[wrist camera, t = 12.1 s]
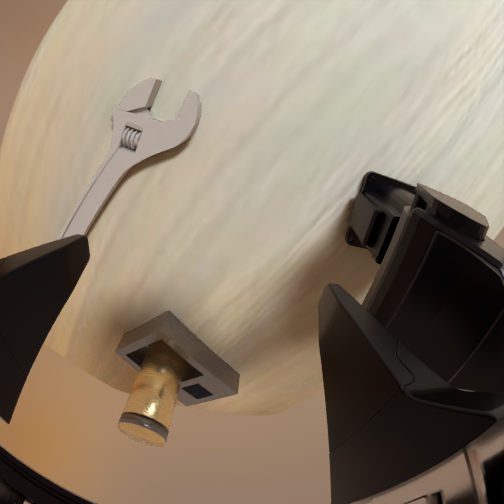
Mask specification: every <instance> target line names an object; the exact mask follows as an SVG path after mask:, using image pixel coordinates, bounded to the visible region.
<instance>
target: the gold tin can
mask: <svg viewBox="0 0 504 504" xmlns="http://www.w3.org/2000/svg"><path fill="white" fill-rule="evenodd" d="M186 363H187V361H186V360H185V359H184V358H182V357H181V356H180V355H179V354H178V353H177V352H175V351H174V350H173V349H172V348H171V347H170V346H168V345H167V344H166V343H165V342H164V341H163V340H162V339H160V340H158V341H156V342H153V343H151V344H150V346H149V348H148V351H147V353H146V355H145V358H144V360H143V363H142V365H141V368H140V370H139V372H138V375H137V377H136V380H135V382H134V385H133V387H132V390H131V393H130V395H129V398H128V400H127V403H126V406H125V409H124V411H123V413H122V415H121V418H120V420H119V423H118V429H119V430H120V431H121V432H122V433H123V434H124V435H126V436H128V437H129V438H131V439H134V440H136V441H138V442H141V443H144V444H147V445H151V446H164V445H165V443H166V440H167V436H168V430H169V426H170V422H171V418H172V415H173V411H174V407H175V403H176V400H177V396H178V392H179V389H180V385H181V381H182V378H183V374H184V370H185V367H186Z"/></svg>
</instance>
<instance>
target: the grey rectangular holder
mask: <svg viewBox="0 0 504 504" xmlns="http://www.w3.org/2000/svg"><path fill="white" fill-rule="evenodd" d="M160 339H162V340H163V341H164V342H165V343H166V344H167V345H168V346H170V347H171V348H172V349H173V350H174V351H175V352H177V353H178V354H179V355H180V356H181V357H182V358H184V359H185V360H186V361H187V362H188V363H187V364H186V367H185V370H184V374H183V378H182V381H181V385H180V389H179V392H178V396H177V400H179V401H180V402H182V403H183V404H185V405H186V406H189V405H194V404H199V403H203V402H207V401H212V400H216V399H220V398H224V397H227V396H231V395H235V394H238V386H239V377H240V375H239V374H238V373H237V372H236V371H235V370H233V369H232V368H231V367H230V366H229V365H228V364H226V363H225V362H224V361H223V360H222V359H221V358H220V357H218V356H217V355H216V354H215V353H214V352H213V351H212V350H210V349H209V348H208V347H207V346H206V345H205V344H204V343H203V342H202V341H201V340H199V339H198V338H197V337H196V336H195V335H194V334H193V333H192V332H191V331H190V330H189V329H188V328H187V327H186V326H185V325H183V324H182V323H181V322H180V321H179V320H178V319H177V318H176V317H175V316H174V315H173V314H172V313H171V312H170V311H167V312H165V313H163V314H161V315H159V316H157V317H156V318H154V319H152V320H150V321H148V322H146V323H144V324H143V325H141V326H139V327H137V328H135V329H133V330H131V331H130V332H128V333H126V334H124V335H123V337H122V339H121V341H120V343H119V345H118V347H117V349H116V351H115V352H116V353H117V354H118V355H120V356H121V357H122V358H123V359H124V360H125V361H127V362H128V363H129V364H130V365H131V366H133V367H134V368H135V369H136V370H138V371H139V370H140V368H141V365H142V363H143V360H144V358H145V355H146V353H147V351H148V350H147V349H146V348H145V346H147V345H149V344H151V343H153V342H156V341H158V340H160Z"/></svg>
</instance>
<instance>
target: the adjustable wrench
mask: <svg viewBox="0 0 504 504" xmlns="http://www.w3.org/2000/svg"><path fill="white" fill-rule="evenodd" d="M161 83H162V80H158V79H154V78H149V79H147V80H144V81H142V82H141V83H139V84H137V85H136V86H134V87H133V88H132V89H131V90H130V91H129V92H128V93H127V94H126V95H125V96H124V97H123V99H122V100H121V101H120V103H119V104H118V106H117V107H112V109H111V112H112V116H111V120H112V121H113V135H112V142H111V146H110V149H109V151H108V154H107V156H106V158H105V159H104V161H103V163H102V164H101V165H100V167H99V168H98V170H97V171H96V173H95V174H94V176H93V177H92V179H91V181H90V182H89V184H88V185H87V187H86V188H85V190H84V192H83V193H82V195H81V197H80V198H79V200H78V202H77V203H76V205H75V207H74V209H73V210H72V212H71V214H70V216H69V218H68V220H67V221H66V223H65V225H64V227H63V229H62V231H61V233H60V235H59V237H58V239H57V240H59V239H63V238H66V237H69V236H73V235H76V234H81V235H85V236H86V234H87V232H88V231H89V229H90V227H91V226H92V224H93V222H94V221H95V219H96V217H97V216H98V214H99V213H100V211H101V210H102V208H103V206H104V205H105V203H106V202H107V200H108V199H109V197H110V196H111V194H112V193H113V191H114V190H115V189H116V187H117V186H118V184H119V183H120V181H121V180H122V179H123V177H124V176H125V175H126V173H127V172H128V171H129V170H130V169H131V168H132V167H133V166H135V165H136V164H137V163H139V162H141V161H143V160H144V159H146V158H148V157H150V156H152V155H154V154H157V153H160V152H162V151H165V150H168V149H171V148H173V147H176V146H178V145H180V144H182V143H183V142H185V141H186V140H187V139H188V138H189V137H191V135H192V134H193V133H194V131H195V130H196V128H197V126H198V124H199V121H200V117H201V106H202V105H201V101H200V97H199V95H198V93H196V92H195V91H192V90H189V91H188V93H187V96H186V98H185V100H184V102H183V105H182V107H181V110H180V112H179V114H178V117H177V118H175V119H171V120H166V121H161V120H159V119H156V118H154V117H153V116H152V115H151V113H150V112H149V110H148V107H152V104H153V102H154V99H155V97H156V94H157V92H158V90H159V87H160V85H161ZM125 146H128V147H129V148H128V147H125ZM131 148H132V149H131ZM133 149H136V150H133Z"/></svg>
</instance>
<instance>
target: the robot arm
mask: <svg viewBox="0 0 504 504" xmlns="http://www.w3.org/2000/svg"><path fill="white" fill-rule="evenodd" d="M372 175H373V176H374V179H373V180H370V176H372ZM348 222H349V224H350V226H349V228H348V231H347V234H346V237H345V239H346V242H347V243H348V244H349V245H352V246H356V247H361V248H365V249H368V250H369V252H370V253H371V255H372V256H373V258H374V259H375V261H376V263H378V264H381V266H380V268H379V270H378V272H377V274H376V276H375V279H374V281H373V283H372V285H371V287H370V289H369V291H368V293H367V295H366V297H365V299H364V301H363V303H362V305H361V304H359V303H358V302H357V301H356V300H355V299H354V298H353V297H352V296H351V295H350V294H348V293H347V292H346V291H345V290H344V289H343V288H342V287H341V286H339V285H338V284H332V283H328V284H327V285H326V287H325V289H324V291H323V294H322V296H321V299H320V301H319V306H318V312H319V348H320V356H321V364H322V373H323V382H324V390H325V391H324V392H325V401H326V413H327V424H328V439H329V452H330V454H329V457H330V479H331V504H366V503H371V504H504V248H502V247H501V246H500V245H499V244H497V243H496V242H495V241H493V240H492V239H490V238H489V237H488V236H486V233H487V231H488V228H489V224H488V221H487V219H486V217H485V216H484V215H482V214H481V213H479V212H477V211H476V210H474V209H473V208H471V207H469V206H468V205H466V204H464V203H462V202H460V201H458V200H456V199H454V198H452V197H450V196H447V195H445V194H443V193H441V192H438V191H436V190H434V189H431V188H429V187H427V186H424V185H422V184H419V183H417V186H416V187H415V186H412V185H410V184H407V183H404V182H402V181H399V180H396V179H393V178H390V177H388V176H385V175H382V174H379V173H376V172H373V171H370V172H368V173H367V174H366V176H365V179H364V182H363V186H362V189H361V192H360V193H359V194H357V196H356V199H355V202H354V206H353V209H352V212H351V215H350V218H349V221H348ZM351 237H354V238H353V240H349V239H350V238H351ZM89 258H90V252H89V244H88V238H87V237H86V236H85V235H81V234H76V235H73V236H69V237H66V238H63V239H59V240H56V241H53V242H50V243H46V244H43V245H40V246H37V247H34V248H31V249H28V250H25V251H22V252H19V253H16V254H13V255H10V256H8V257H6V258H2V259H0V418H1V419H2V420H4V421H5V422H6V423H7V424H9V423H10V421H11V418H12V415H13V412H14V409H15V406H16V404H17V401H18V398H19V396H20V393H21V391H22V388H23V386H24V384H25V381H26V379H27V376H28V374H29V372H30V369H31V367H32V365H33V363H34V361H35V359H36V357H37V355H38V353H39V351H40V349H41V347H42V345H43V343H44V341H45V339H46V337H47V335H48V333H49V331H50V330H51V328H52V326H53V324H54V322H55V321H56V319H57V317H58V315H59V314H60V312H61V310H62V308H63V307H64V305H65V303H66V302H67V300H68V298H69V297H70V295H71V293H72V292H73V290H74V288H75V286H76V284H77V282H78V280H79V278H80V276H81V274H82V273H83V271H84V269H85V267H86V265H87V263H88V261H89ZM24 501H25V502H27V503H29V504H97V503H95V502H92V501H89V500H88V499H85V498H83V497H82V496H80V495H77V494H76V493H74V492H71V491H70V490H68V489H66V488H64V487H62V486H60V485H59V484H57V483H55V482H53V481H52V480H50V479H48V478H47V477H45V476H43V475H42V474H40V473H39V472H37V471H36V470H34V469H33V468H31V467H30V466H28V465H27V464H25V463H24V462H22V461H21V460H19V459H18V458H17V457H16V456H14V455H13V454H12V453H10V452H9V451H8V450H6V449H5V448H4V447H3V446H1V445H0V504H23V503H24Z"/></svg>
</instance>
